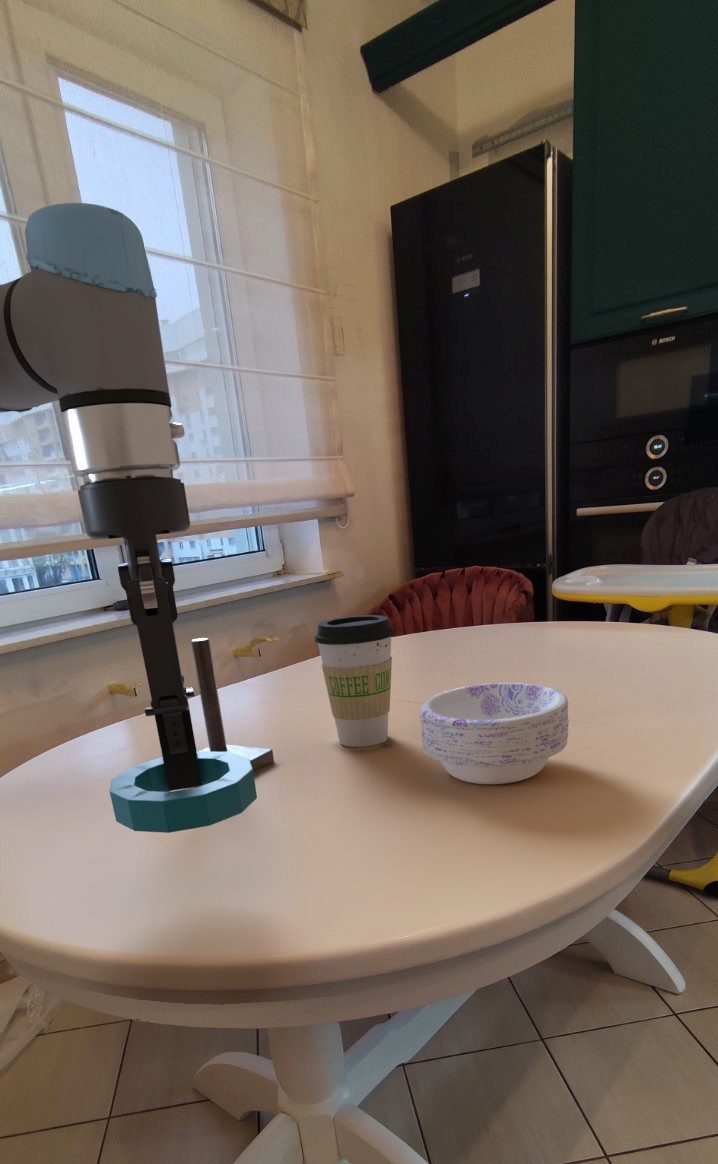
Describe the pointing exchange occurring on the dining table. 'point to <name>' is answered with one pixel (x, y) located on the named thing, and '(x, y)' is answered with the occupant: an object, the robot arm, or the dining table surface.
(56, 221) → the robot arm
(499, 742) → the paper bowls
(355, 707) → the coffee cup
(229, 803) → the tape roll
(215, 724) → the peg stand
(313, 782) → the dining table surface
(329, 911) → the dining table surface
